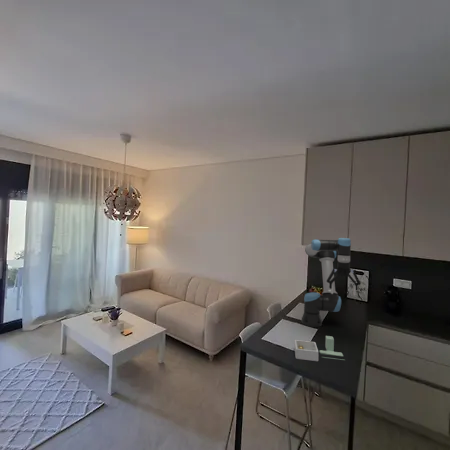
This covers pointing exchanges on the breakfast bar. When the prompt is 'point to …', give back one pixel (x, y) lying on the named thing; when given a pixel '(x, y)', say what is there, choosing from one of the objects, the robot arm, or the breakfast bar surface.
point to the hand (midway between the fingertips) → (342, 294)
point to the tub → (306, 350)
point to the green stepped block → (330, 348)
